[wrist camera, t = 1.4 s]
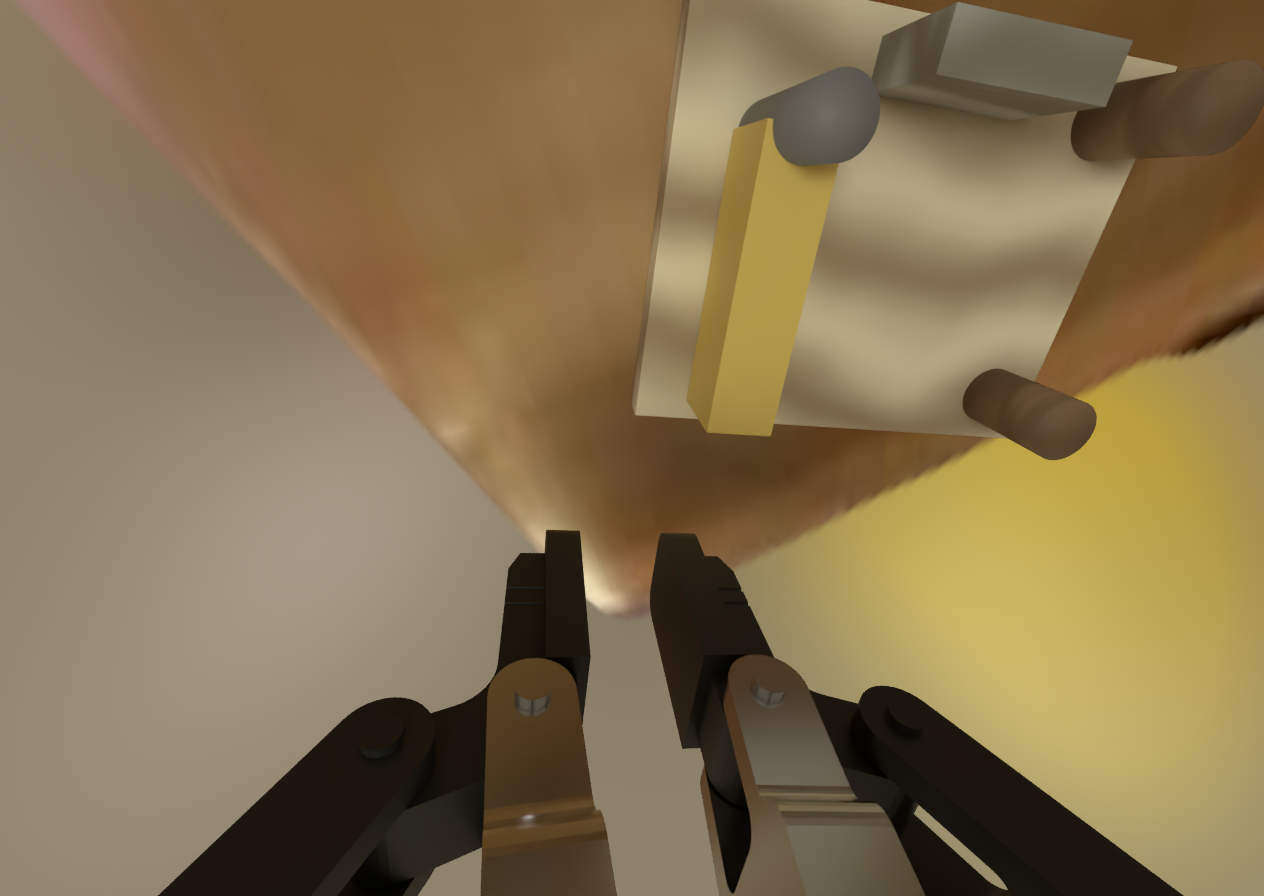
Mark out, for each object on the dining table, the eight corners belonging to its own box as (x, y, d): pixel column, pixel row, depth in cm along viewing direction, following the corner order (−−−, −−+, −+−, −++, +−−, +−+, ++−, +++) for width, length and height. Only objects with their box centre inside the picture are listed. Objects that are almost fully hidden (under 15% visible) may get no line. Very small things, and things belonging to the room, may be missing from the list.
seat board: (685, -23, 21) (736, -102, 15) (1144, 72, 25) (1322, 38, 19) (631, 404, 29) (651, 459, 23) (990, 428, 33) (1085, 480, 27)
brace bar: (739, 91, 22) (807, 58, 16) (808, 103, 22) (897, 75, 17) (686, 400, 27) (722, 456, 22) (742, 404, 28) (791, 460, 22)
